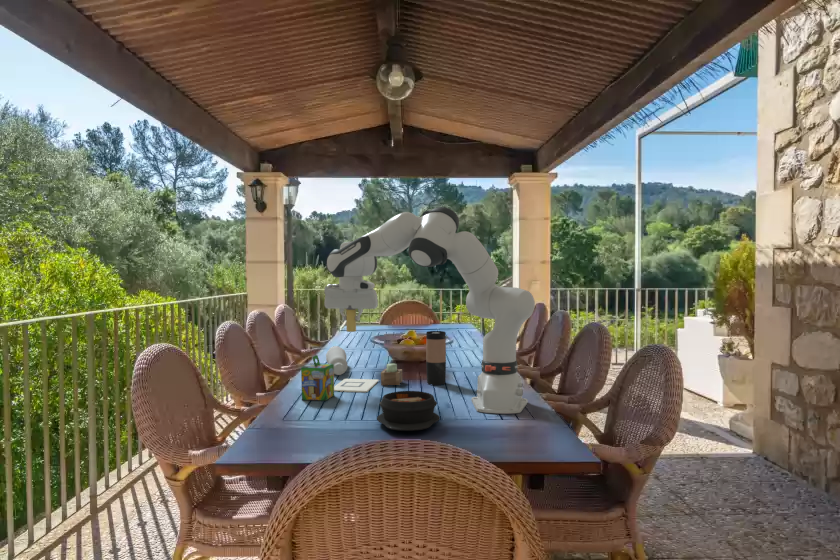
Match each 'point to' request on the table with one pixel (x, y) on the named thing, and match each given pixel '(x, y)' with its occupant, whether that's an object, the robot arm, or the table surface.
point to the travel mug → (436, 357)
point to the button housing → (391, 377)
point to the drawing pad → (355, 385)
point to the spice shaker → (350, 319)
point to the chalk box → (317, 381)
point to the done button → (391, 367)
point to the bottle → (337, 359)
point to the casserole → (408, 410)
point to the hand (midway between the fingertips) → (351, 320)
